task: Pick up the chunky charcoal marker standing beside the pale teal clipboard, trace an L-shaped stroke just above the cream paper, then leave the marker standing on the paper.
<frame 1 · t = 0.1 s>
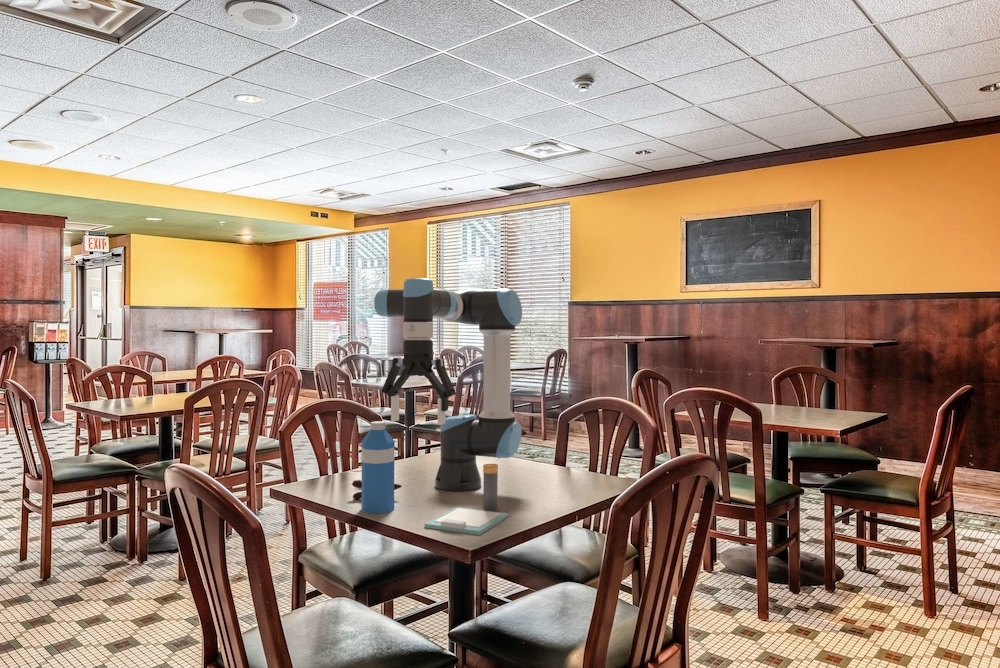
hand: (417, 422, 173), 28 cm above the table, tool pointing down, fingers open, 13 cm apart
marker: (490, 510, 194), on the table
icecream: (376, 499, 207), on the table
clipboard: (467, 522, 182), on the table
water bottle: (377, 510, 195), on the table
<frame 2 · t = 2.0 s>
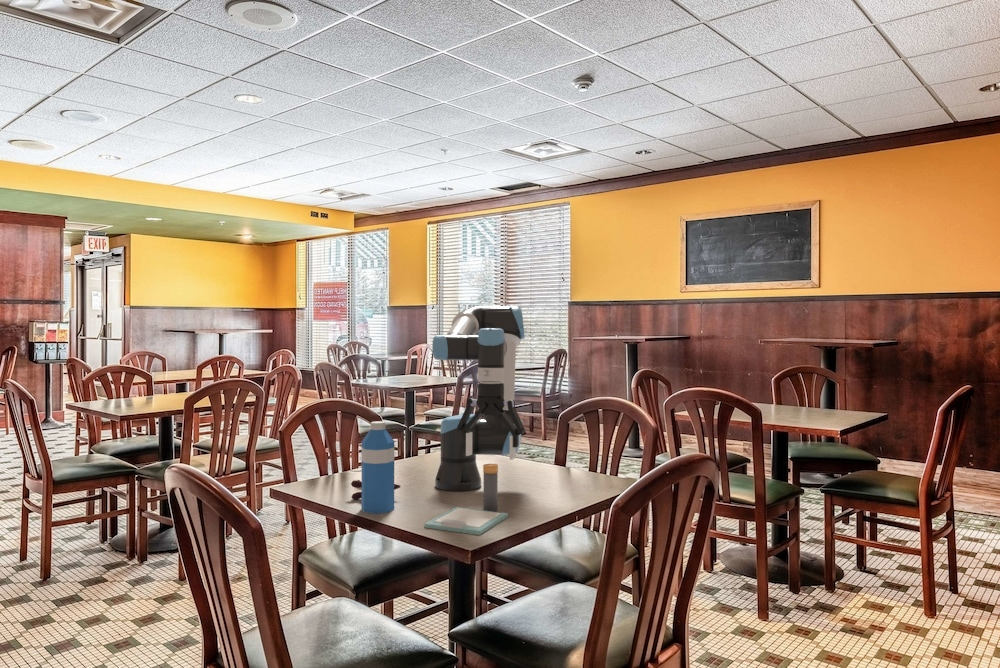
hand: (490, 457, 193), 15 cm above the table, tool pointing down, fingers open, 13 cm apart
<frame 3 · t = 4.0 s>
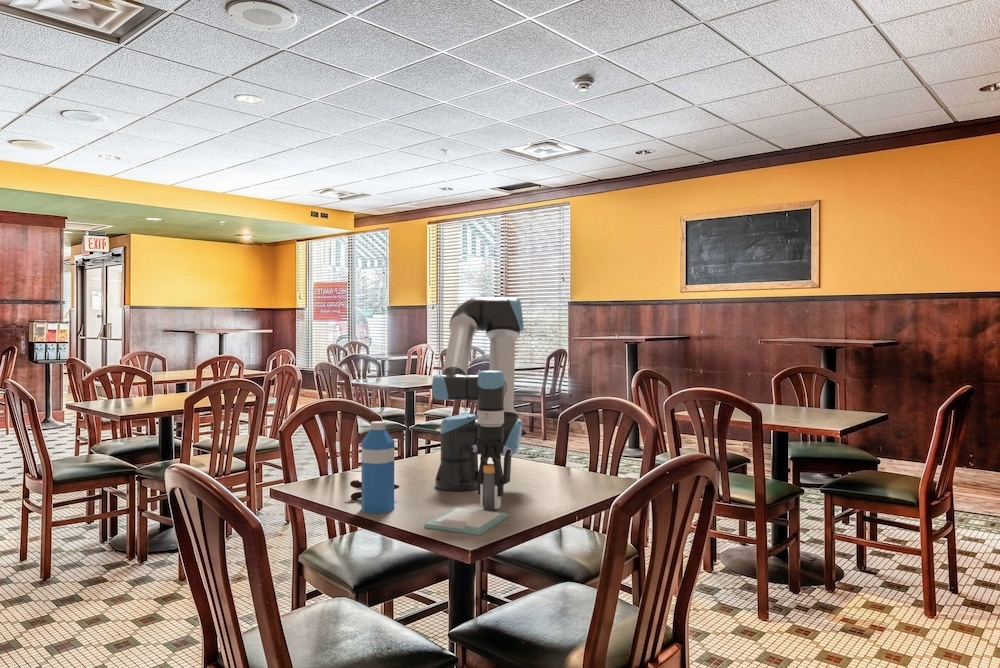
hand: (490, 506, 194), 1 cm above the table, tool pointing down, fingers closed on marker, 4 cm apart
marker: (490, 510, 194), on the table, touching gripper
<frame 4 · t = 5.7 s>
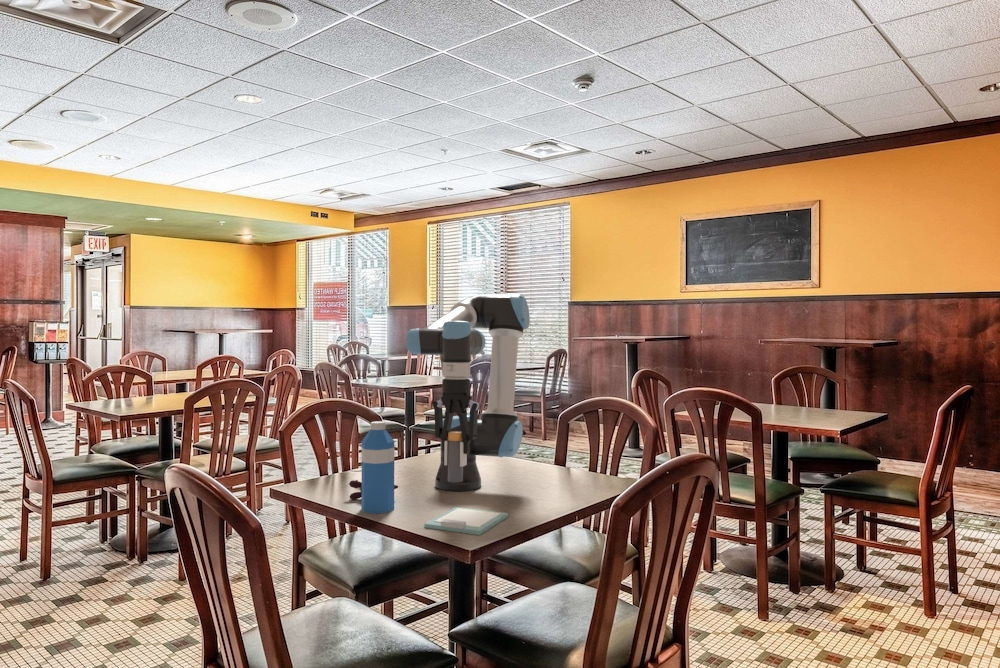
hand: (455, 464, 183), 15 cm above the table, tool pointing down, fingers closed on marker, 4 cm apart
marker: (455, 480, 183), point 11 cm above the table, touching gripper
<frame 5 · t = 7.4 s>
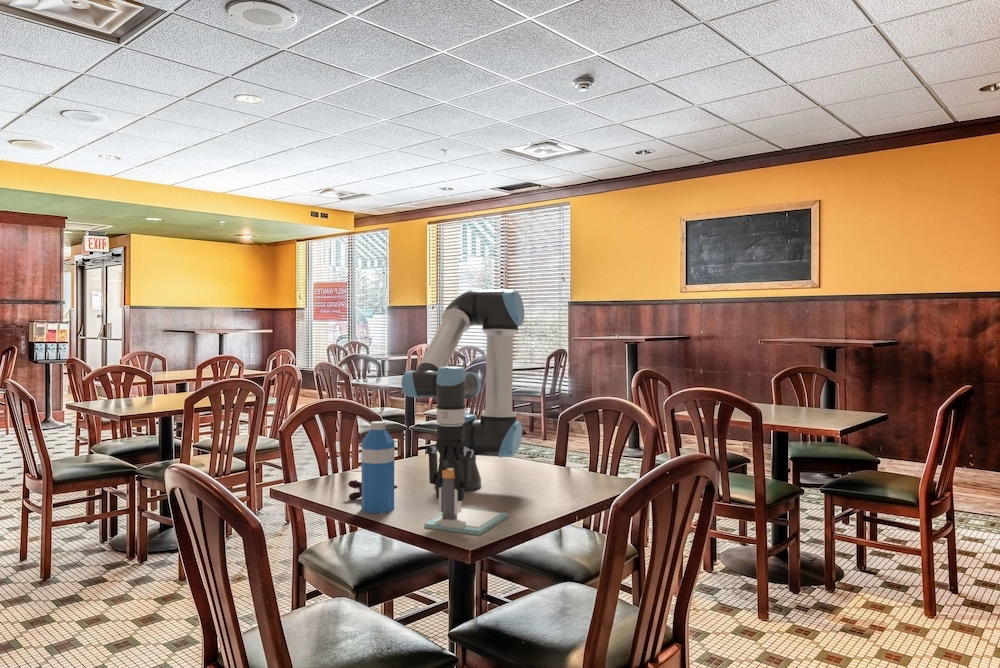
hand: (449, 511, 182), 3 cm above the table, tool pointing down, fingers closed on marker, 4 cm apart
marker: (449, 518, 182), point 1 cm above the table, touching clipboard, gripper
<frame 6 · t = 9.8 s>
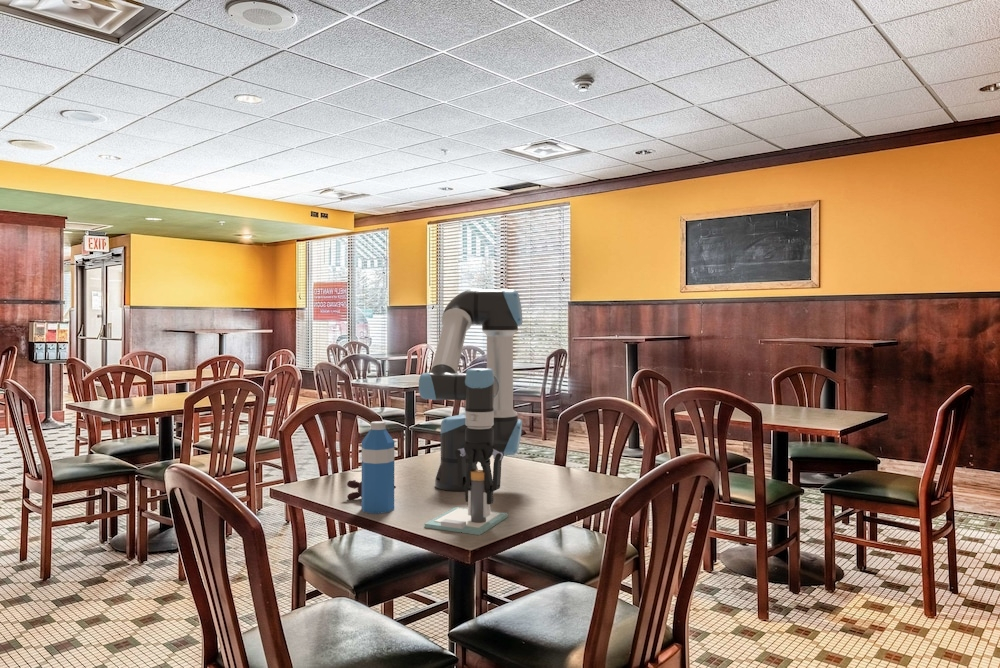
hand: (479, 514, 180), 3 cm above the table, tool pointing down, fingers closed on marker, 4 cm apart
marker: (478, 520, 179), point 1 cm above the table, touching clipboard, gripper
when the fingers open (3 cm above the table, at t = 11.2 s): marker stays where it is, resting on clipboard.
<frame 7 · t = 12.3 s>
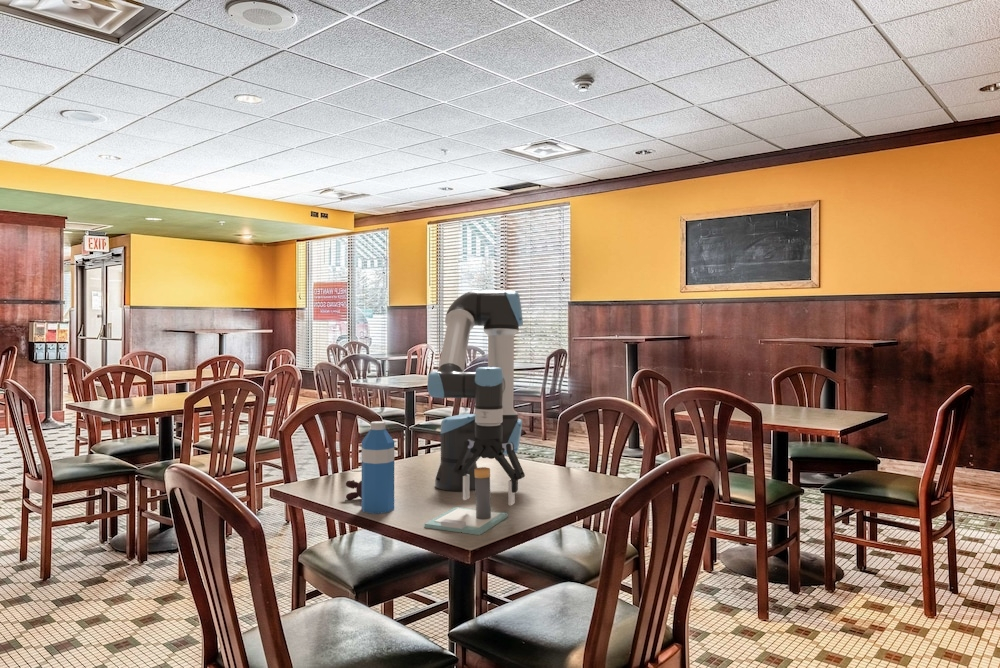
hand: (488, 501, 185), 5 cm above the table, tool pointing down, fingers open, 13 cm apart
marker: (483, 517, 182), point 1 cm above the table, touching clipboard
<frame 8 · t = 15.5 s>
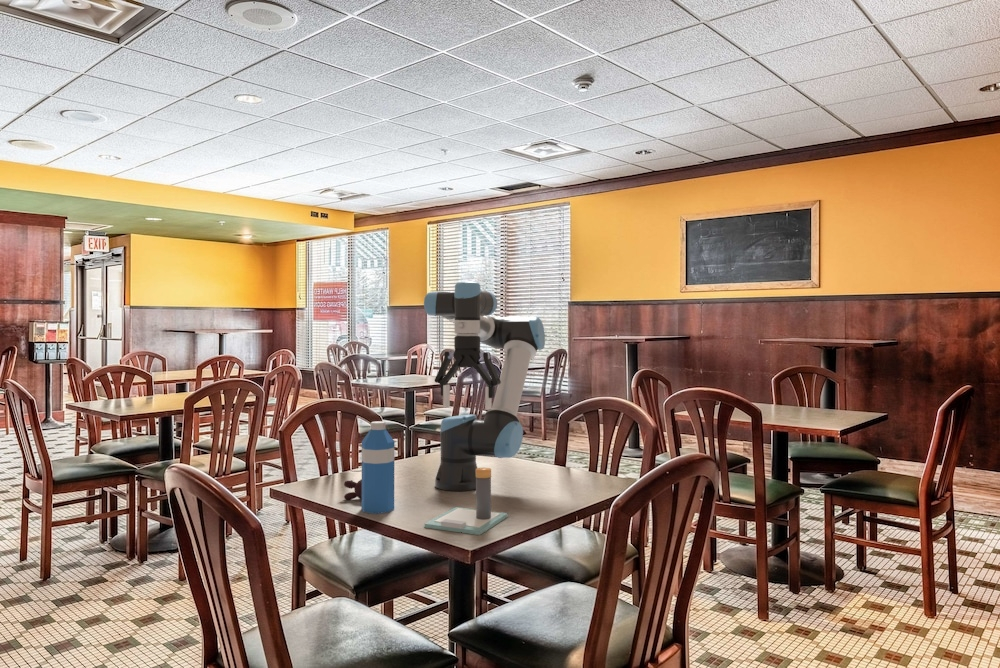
hand: (467, 408, 198), 29 cm above the table, tool pointing down, fingers open, 13 cm apart
at the end: marker inside the target area (4.4 cm from its centre), point 1.2 cm above the table; marker tilted 1°; the gripper is holding nothing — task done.
